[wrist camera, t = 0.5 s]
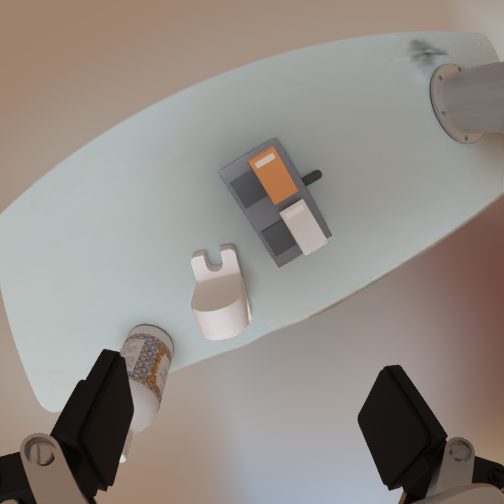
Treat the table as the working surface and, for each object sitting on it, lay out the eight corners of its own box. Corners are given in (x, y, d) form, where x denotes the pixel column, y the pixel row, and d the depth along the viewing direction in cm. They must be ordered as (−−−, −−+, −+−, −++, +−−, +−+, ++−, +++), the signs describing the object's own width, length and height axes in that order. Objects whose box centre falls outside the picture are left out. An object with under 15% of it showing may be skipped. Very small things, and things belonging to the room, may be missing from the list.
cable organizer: (233, 243, 35) (234, 275, 25) (251, 313, 38) (257, 360, 29) (191, 253, 35) (177, 287, 26) (213, 321, 38) (208, 369, 29)
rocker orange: (271, 145, 27) (274, 147, 26) (295, 188, 29) (298, 191, 29) (247, 160, 27) (248, 162, 26) (272, 202, 30) (274, 205, 29)
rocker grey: (301, 199, 30) (302, 198, 29) (326, 241, 30) (328, 242, 29) (278, 212, 30) (279, 212, 29) (304, 255, 31) (305, 256, 30)
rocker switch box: (293, 126, 31) (300, 122, 27) (342, 215, 35) (354, 222, 31) (219, 170, 32) (217, 171, 29) (274, 257, 36) (279, 268, 32)
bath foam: (175, 363, 40) (152, 477, 21) (132, 359, 39) (91, 464, 20) (172, 325, 38) (138, 443, 19) (125, 321, 37) (69, 427, 18)
